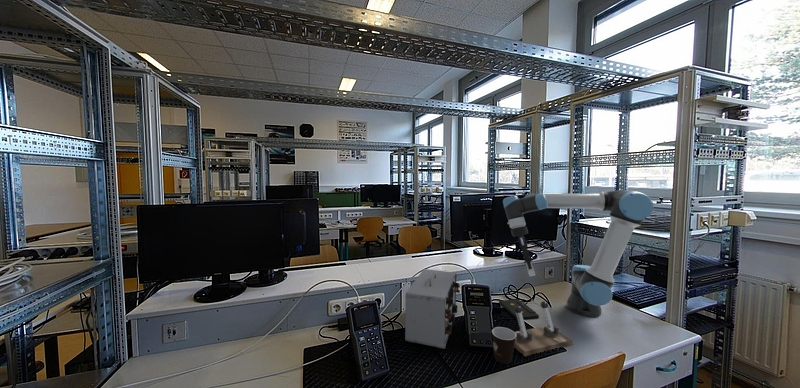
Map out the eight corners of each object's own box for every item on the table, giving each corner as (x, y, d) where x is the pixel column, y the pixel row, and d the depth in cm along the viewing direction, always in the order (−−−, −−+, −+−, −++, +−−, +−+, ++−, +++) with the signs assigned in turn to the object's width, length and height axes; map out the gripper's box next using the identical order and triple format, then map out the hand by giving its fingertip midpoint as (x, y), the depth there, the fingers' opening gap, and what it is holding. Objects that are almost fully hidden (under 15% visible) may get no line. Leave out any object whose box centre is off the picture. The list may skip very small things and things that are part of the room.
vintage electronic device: (449, 354, 111) (450, 292, 109) (405, 345, 117) (405, 286, 115) (459, 315, 141) (460, 266, 139) (424, 309, 146) (424, 262, 144)
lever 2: (552, 331, 122) (543, 300, 126) (557, 332, 120) (548, 300, 124) (546, 332, 121) (538, 301, 126) (551, 333, 119) (543, 301, 123)
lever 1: (525, 337, 118) (517, 305, 122) (530, 338, 115) (522, 305, 119) (519, 338, 117) (511, 306, 121) (524, 339, 114) (516, 306, 119)
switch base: (548, 329, 128) (549, 318, 128) (572, 344, 117) (572, 333, 117) (504, 338, 121) (504, 327, 121) (524, 356, 110) (525, 344, 109)
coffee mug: (517, 367, 104) (518, 341, 103) (492, 364, 105) (493, 338, 104) (511, 347, 115) (512, 324, 114) (489, 345, 117) (489, 322, 116)
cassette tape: (539, 319, 138) (539, 315, 138) (517, 321, 137) (517, 316, 136) (518, 302, 156) (518, 298, 156) (498, 303, 154) (498, 300, 154)
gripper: (511, 229, 147) (524, 275, 142) (509, 228, 136) (523, 278, 130) (526, 226, 145) (540, 273, 139) (526, 224, 133) (541, 276, 127)
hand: (532, 275), depth 134 cm, fingers closed
